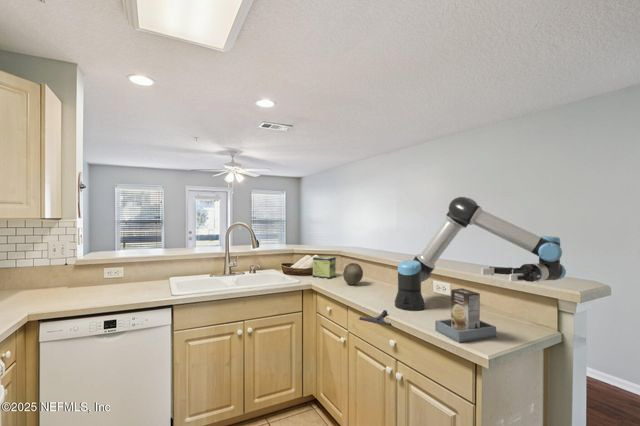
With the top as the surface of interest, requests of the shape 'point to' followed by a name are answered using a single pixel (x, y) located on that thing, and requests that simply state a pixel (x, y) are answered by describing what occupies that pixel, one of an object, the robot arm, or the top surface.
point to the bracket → (377, 319)
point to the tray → (465, 331)
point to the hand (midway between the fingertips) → (495, 274)
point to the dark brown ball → (353, 273)
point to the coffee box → (465, 309)
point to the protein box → (324, 267)
